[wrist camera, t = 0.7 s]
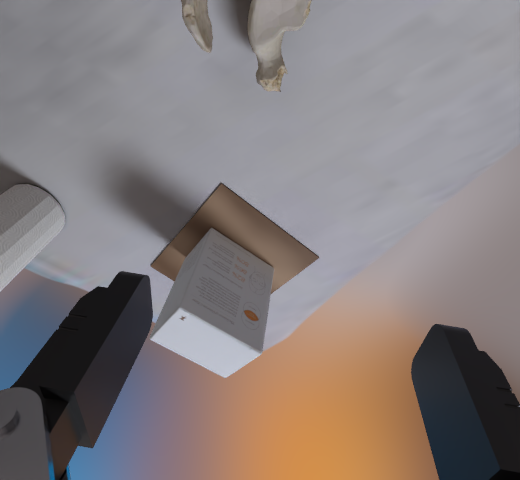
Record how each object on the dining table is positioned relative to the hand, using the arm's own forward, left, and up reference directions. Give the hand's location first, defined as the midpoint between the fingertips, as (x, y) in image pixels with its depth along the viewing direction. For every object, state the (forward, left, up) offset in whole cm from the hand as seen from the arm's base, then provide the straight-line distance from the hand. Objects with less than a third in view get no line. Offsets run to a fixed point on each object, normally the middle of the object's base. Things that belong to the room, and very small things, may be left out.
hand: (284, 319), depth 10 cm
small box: (+17, +5, -21) cm, 27 cm away
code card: (+17, +5, -21) cm, 27 cm away
